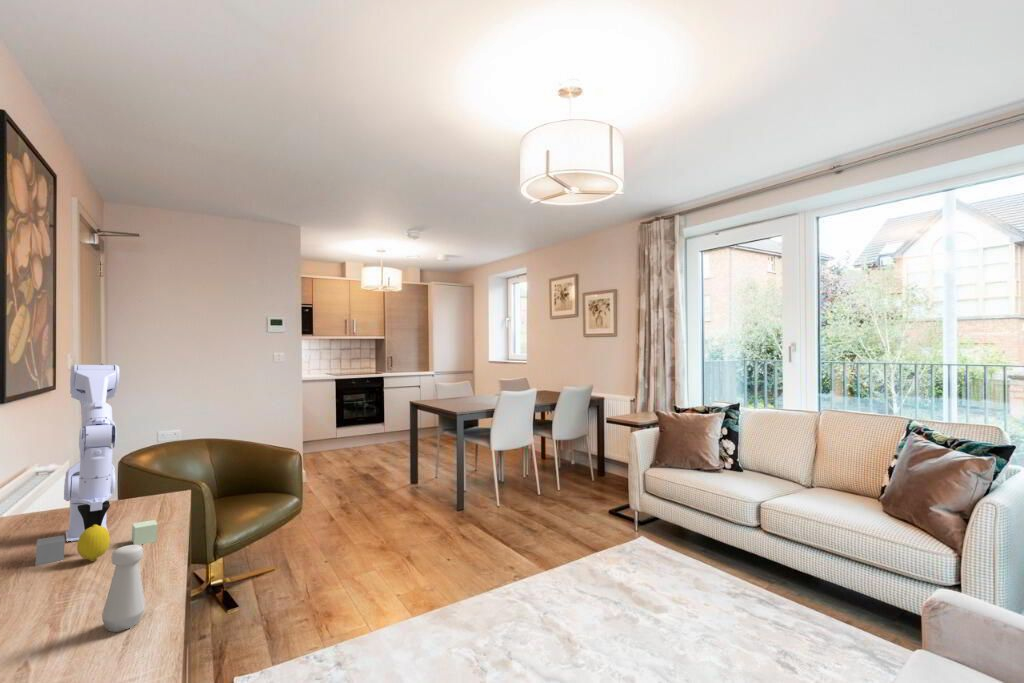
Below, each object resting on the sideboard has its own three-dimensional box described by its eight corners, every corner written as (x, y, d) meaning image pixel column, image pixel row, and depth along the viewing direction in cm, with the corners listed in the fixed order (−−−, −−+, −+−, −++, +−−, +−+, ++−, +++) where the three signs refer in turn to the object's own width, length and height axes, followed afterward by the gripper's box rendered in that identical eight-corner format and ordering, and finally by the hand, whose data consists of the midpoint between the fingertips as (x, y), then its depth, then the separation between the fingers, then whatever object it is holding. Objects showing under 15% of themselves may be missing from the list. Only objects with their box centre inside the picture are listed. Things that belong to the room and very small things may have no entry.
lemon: (89, 567, 105) (92, 529, 105) (69, 564, 106) (71, 527, 106) (115, 557, 110) (117, 521, 111) (95, 555, 111) (97, 519, 112)
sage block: (131, 541, 120) (132, 523, 120) (153, 537, 123) (154, 519, 124) (133, 547, 117) (134, 528, 117) (156, 542, 120) (157, 524, 120)
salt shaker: (96, 638, 78) (101, 556, 79) (106, 621, 83) (110, 544, 84) (141, 629, 81) (145, 550, 82) (147, 614, 86) (152, 539, 87)
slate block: (35, 560, 109) (36, 539, 109) (62, 554, 112) (64, 535, 112) (35, 566, 105) (36, 545, 106) (63, 560, 108) (64, 540, 109)
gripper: (71, 473, 116) (67, 531, 116) (73, 484, 106) (69, 548, 105) (109, 469, 121) (106, 524, 120) (115, 479, 111) (111, 540, 110)
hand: (92, 535), depth 113 cm, fingers closed
